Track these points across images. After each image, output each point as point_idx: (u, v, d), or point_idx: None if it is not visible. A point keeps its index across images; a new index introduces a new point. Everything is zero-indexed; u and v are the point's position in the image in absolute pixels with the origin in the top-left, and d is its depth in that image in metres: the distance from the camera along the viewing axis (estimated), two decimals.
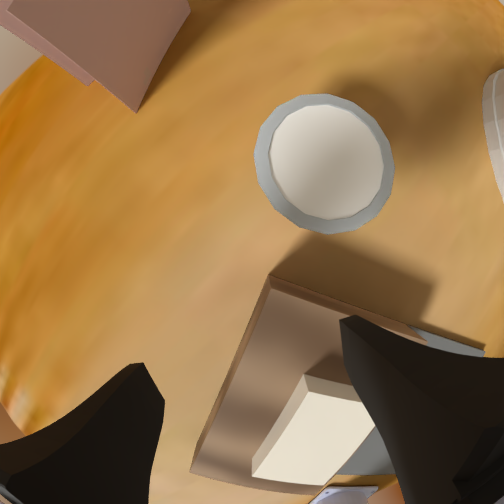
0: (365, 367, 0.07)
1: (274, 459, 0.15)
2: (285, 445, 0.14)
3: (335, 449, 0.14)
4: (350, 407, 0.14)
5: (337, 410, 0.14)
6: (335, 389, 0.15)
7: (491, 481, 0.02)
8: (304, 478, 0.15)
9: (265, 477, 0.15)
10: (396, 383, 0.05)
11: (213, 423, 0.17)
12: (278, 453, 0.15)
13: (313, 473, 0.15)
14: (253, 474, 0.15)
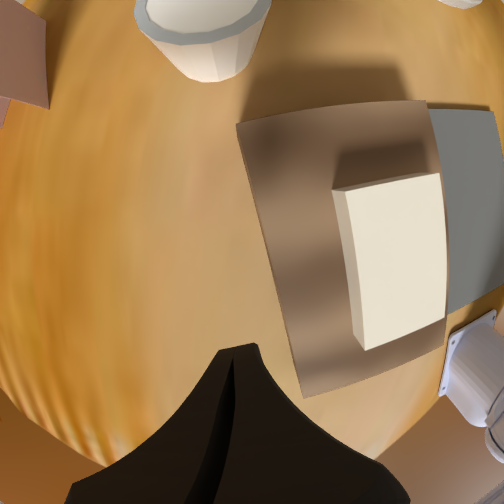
0: None
1: (373, 309, 0.14)
2: (371, 281, 0.13)
3: (425, 256, 0.13)
4: (402, 190, 0.12)
5: (391, 200, 0.12)
6: (373, 183, 0.13)
7: None
8: (419, 318, 0.14)
9: (379, 342, 0.14)
10: None
11: (285, 314, 0.16)
12: (371, 297, 0.13)
13: (424, 305, 0.14)
14: (365, 346, 0.14)
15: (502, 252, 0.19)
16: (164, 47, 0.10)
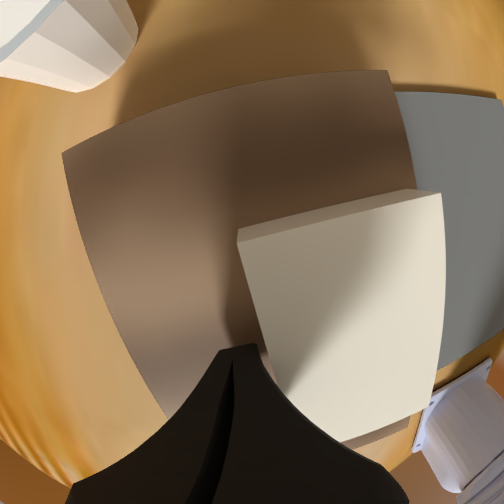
0: None
1: (305, 414, 0.08)
2: (300, 382, 0.08)
3: (405, 338, 0.08)
4: (364, 231, 0.07)
5: (339, 253, 0.07)
6: (310, 216, 0.08)
7: None
8: (387, 415, 0.09)
9: None
10: None
11: (158, 400, 0.10)
12: (302, 401, 0.08)
13: (397, 399, 0.08)
14: None
15: None
16: None
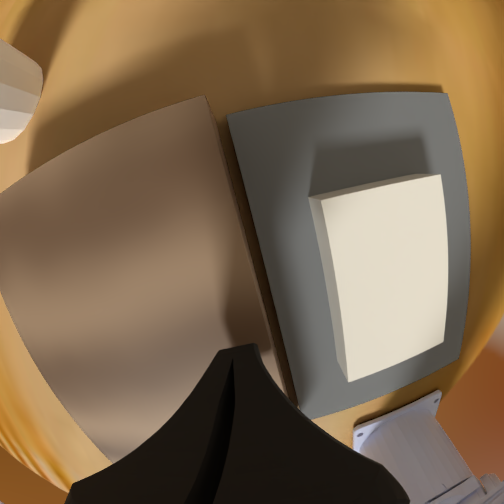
0: None
1: None
2: None
3: None
4: None
5: None
6: (394, 180, 0.11)
7: None
8: None
9: None
10: None
11: (61, 401, 0.11)
12: None
13: None
14: None
15: (454, 322, 0.14)
16: None
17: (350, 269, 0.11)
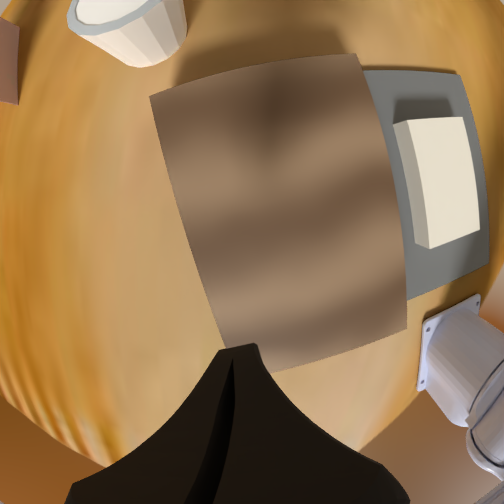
0: None
1: None
2: None
3: None
4: None
5: None
6: None
7: None
8: None
9: None
10: None
11: (203, 281, 0.15)
12: None
13: None
14: None
15: (482, 228, 0.18)
16: (88, 39, 0.09)
17: (424, 162, 0.15)
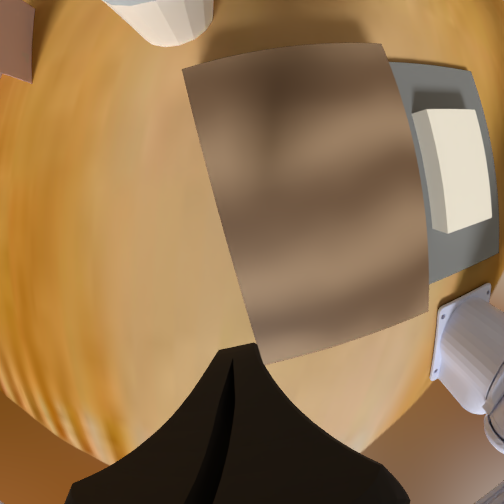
0: None
1: None
2: None
3: None
4: None
5: None
6: None
7: None
8: None
9: None
10: None
11: (232, 258, 0.15)
12: None
13: None
14: None
15: (492, 217, 0.18)
16: (120, 11, 0.09)
17: (442, 149, 0.15)
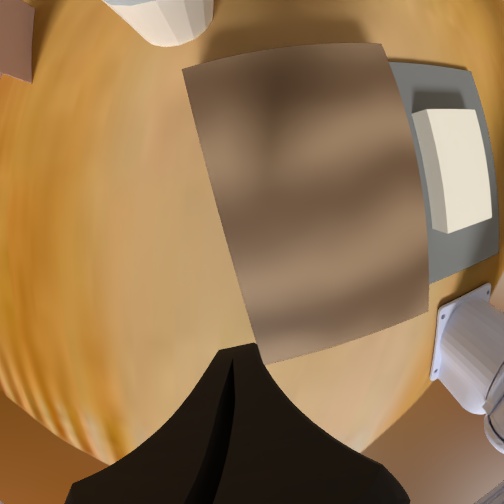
0: None
1: None
2: None
3: None
4: None
5: None
6: None
7: None
8: None
9: None
10: None
11: (232, 258, 0.15)
12: None
13: None
14: None
15: (492, 217, 0.18)
16: (120, 11, 0.09)
17: (442, 149, 0.15)
